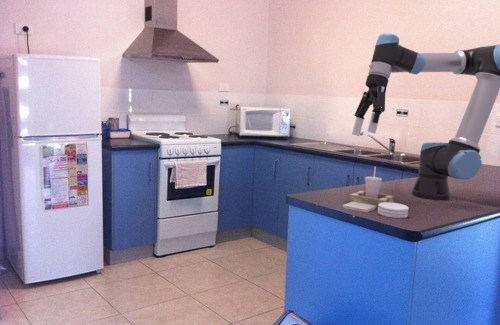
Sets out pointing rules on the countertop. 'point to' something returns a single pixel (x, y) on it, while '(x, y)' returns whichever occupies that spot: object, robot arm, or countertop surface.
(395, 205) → the coaster
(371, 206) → the tile
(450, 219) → the countertop surface
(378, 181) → the smoothie
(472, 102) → the robot arm
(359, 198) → the square wooden frame
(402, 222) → the countertop surface
